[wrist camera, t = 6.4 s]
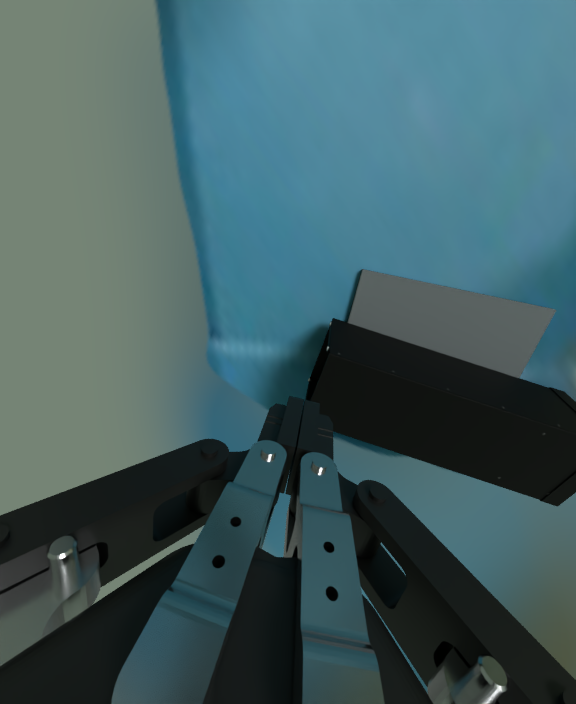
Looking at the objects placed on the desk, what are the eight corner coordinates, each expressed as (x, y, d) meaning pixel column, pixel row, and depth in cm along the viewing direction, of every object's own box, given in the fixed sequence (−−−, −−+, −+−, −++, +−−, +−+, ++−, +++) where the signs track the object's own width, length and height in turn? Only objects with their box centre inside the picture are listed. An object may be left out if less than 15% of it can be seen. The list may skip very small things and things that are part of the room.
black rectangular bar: (299, 421, 27) (592, 518, 26) (327, 352, 23) (671, 464, 22) (308, 376, 34) (541, 452, 33) (331, 316, 30) (595, 401, 29)
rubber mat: (362, 269, 29) (362, 269, 29) (551, 308, 28) (556, 310, 27) (333, 374, 34) (333, 376, 33) (495, 412, 32) (498, 415, 32)
